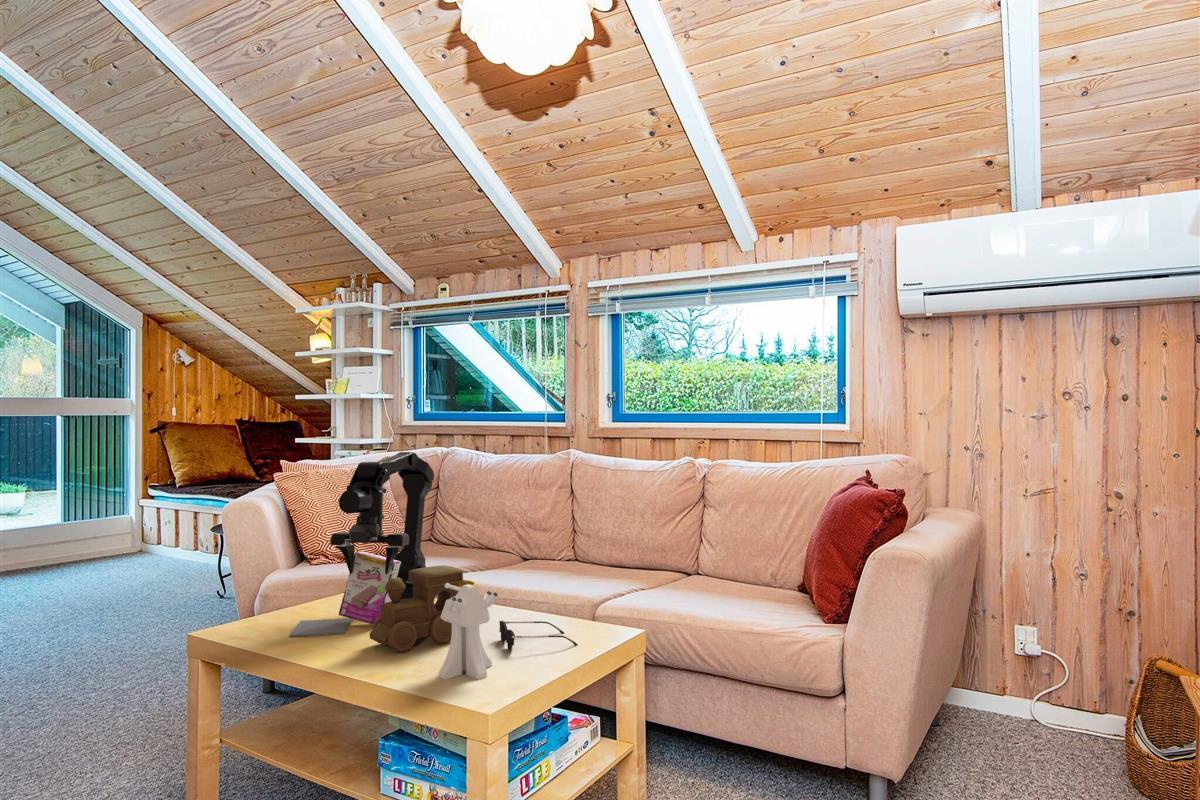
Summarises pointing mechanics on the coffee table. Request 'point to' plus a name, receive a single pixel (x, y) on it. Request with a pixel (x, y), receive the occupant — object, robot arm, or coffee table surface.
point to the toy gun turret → (466, 632)
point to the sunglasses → (510, 636)
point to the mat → (321, 627)
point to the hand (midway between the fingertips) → (368, 573)
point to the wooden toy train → (416, 608)
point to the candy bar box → (367, 587)
